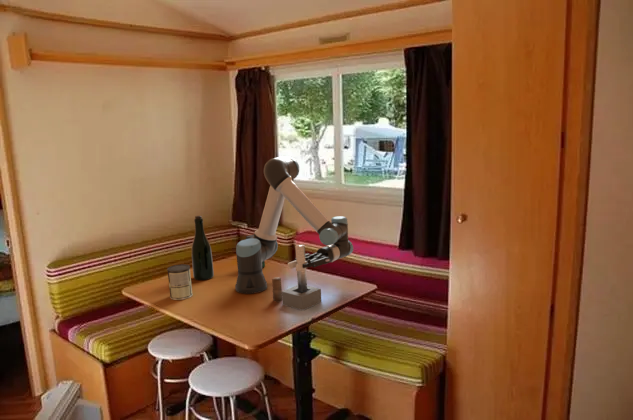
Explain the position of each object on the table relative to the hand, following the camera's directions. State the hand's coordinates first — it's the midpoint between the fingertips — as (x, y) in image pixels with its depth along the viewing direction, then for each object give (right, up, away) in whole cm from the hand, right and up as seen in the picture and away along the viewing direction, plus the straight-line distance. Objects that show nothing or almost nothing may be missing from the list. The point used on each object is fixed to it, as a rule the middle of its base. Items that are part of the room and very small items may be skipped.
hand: (292, 267), depth 211 cm
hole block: (+4, -17, +7) cm, 19 cm away
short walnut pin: (-7, -16, +13) cm, 22 cm away
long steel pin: (+4, -11, +6) cm, 13 cm away
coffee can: (-53, -17, +24) cm, 61 cm away
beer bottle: (-49, -12, +51) cm, 72 cm away
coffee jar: (-23, -8, +66) cm, 70 cm away
